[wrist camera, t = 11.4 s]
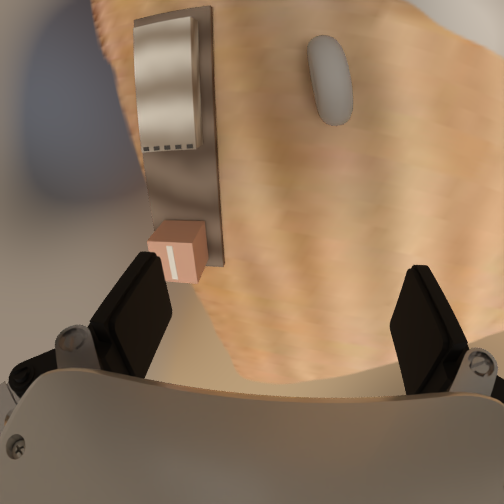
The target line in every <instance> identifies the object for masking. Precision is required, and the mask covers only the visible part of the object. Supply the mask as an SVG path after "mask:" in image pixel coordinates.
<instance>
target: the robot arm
mask: <svg viewBox="0 0 504 504" xmlns="http://www.w3.org/2000/svg"><path fill="white" fill-rule="evenodd" d="M171 317H172V307H171V303H170V299H169V294H168V290H167V285H166V281H165V276H164V272H163V267H162V262H161V258H160V257H159V256H157V255H156V253H155V252H140V253H139V254H138V255H137V257H136V258H135V259H134V260H133V262H132V263H131V264H130V266H129V267H128V268H127V270H126V271H125V272H124V274H123V275H122V276H121V278H120V279H119V280H118V282H117V283H116V285H115V286H114V287H113V289H112V290H111V291H110V293H109V294H108V295H107V297H106V298H105V300H104V301H103V302H102V304H101V305H100V307H99V308H98V310H97V311H96V312H95V314H94V315H93V317H92V318H91V320H90V324H89V326H88V327H86V326H83V325H73V326H70V327H68V328H66V329H64V330H63V331H62V332H60V334H59V335H58V336H57V338H56V340H55V349H52V350H50V351H48V352H45V353H43V354H41V355H39V356H36V357H33V358H31V359H29V360H26V361H24V362H22V363H20V364H18V365H17V366H15V367H14V368H13V370H12V371H11V373H10V376H9V383H7V384H6V382H5V381H4V382H3V383H1V384H0V504H504V379H502V378H501V377H499V376H498V375H497V371H498V366H497V362H496V360H495V359H494V357H493V356H492V355H491V354H490V353H489V352H488V351H486V350H484V349H482V348H471V349H470V350H469V347H468V345H467V343H468V342H467V340H466V337H465V335H464V333H463V331H462V329H461V327H460V325H459V323H458V321H457V319H456V317H455V315H454V313H453V311H452V309H451V307H450V305H449V303H448V301H447V299H446V297H445V295H444V293H443V292H442V290H441V288H440V286H439V284H438V282H437V281H436V279H435V277H434V275H433V274H432V272H431V270H430V268H429V267H428V266H426V265H413V266H412V268H411V269H408V270H407V273H406V276H405V280H404V283H403V286H402V289H401V292H400V295H399V298H398V301H397V304H396V307H395V310H394V313H393V315H392V318H391V321H390V331H391V335H392V338H393V342H394V346H395V350H396V353H397V357H398V361H399V365H400V369H401V373H402V378H403V382H404V386H405V391H406V395H401V396H384V397H361V398H308V397H282V396H268V395H255V394H244V393H234V392H225V391H217V390H209V389H202V388H195V387H188V386H182V385H176V384H170V383H165V382H159V381H154V380H148V379H144V378H145V376H146V373H147V371H148V369H149V366H150V364H151V362H152V359H153V357H154V355H155V353H156V350H157V348H158V346H159V344H160V341H161V339H162V337H163V335H164V333H165V330H166V328H167V326H168V323H169V321H170V319H171Z"/></svg>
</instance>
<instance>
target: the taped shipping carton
mask: <svg viewBox="0 0 504 504" xmlns="http://www.w3.org/2000/svg"><path fill="white" fill-rule="evenodd" d="M147 243H148V249H149V252H155V253H156V255H157V256H159V257H160V258H161V262H162V267H163V272H164V276H165V281H171V282H183V283H195V284H198V282H199V280H200V277H201V275H202V273H203V270H204V268H205V266H206V264H207V261H208V259H209V257H208V248H207V238H206V228H205V221H181V220H164V221H163V222H162V223H161V225H160V226H159V227H158V228H157V229H156V231H155V232H154V233H153V234H152V236H151V237H150V238H149V239H148V241H147Z"/></svg>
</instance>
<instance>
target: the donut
mask: <svg viewBox="0 0 504 504" xmlns="http://www.w3.org/2000/svg"><path fill="white" fill-rule="evenodd" d="M307 56H308V63H309V70H310V76H311V81H312V87H313V92H314V97H315V101H316V106H317V110H318V113H319V116H320V117H321V119H322V120H323V121H324V122H325V123H326V124H329V125H331V126H338V125H342V124H344V123H346V122H347V121H348V120H349V119H350V117H351V114H352V110H353V90H352V82H351V76H350V71H349V66H348V63H347V59H346V56H345V53H344V51H343V48H342V47H341V45H340V44H339V43H338V41H337V40H336V39H334V38H333V37H330V36H326V35H320V36H316V37H314V38H313V39H311V40H310V42H309V43H308V46H307Z"/></svg>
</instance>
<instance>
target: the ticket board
mask: <svg viewBox="0 0 504 504" xmlns="http://www.w3.org/2000/svg"><path fill="white" fill-rule="evenodd" d="M133 37H134V68H135V85H136V99H137V112H138V122H139V132H140V141H141V150H142V153H143V161H144V168H145V176H146V183H147V189H148V196H149V202H150V208H151V214H152V220H153V226H154V231H156V229H157V228H158V227H159V226H160V225H161V223H162V222H163V221H164V220H181V221H205V228H206V238H207V248H208V257H209V259H208V261H207V264H206V266H213V267H224V264H225V261H224V248H223V235H222V221H221V206H220V190H219V174H218V156H217V137H216V116H215V91H214V62H213V18H212V7H211V6H203V7H196V8H189V9H183V10H177V11H172V12H167V13H162V14H157V15H153V16H148V17H144V18H140V19H136V20H134V28H133Z"/></svg>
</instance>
